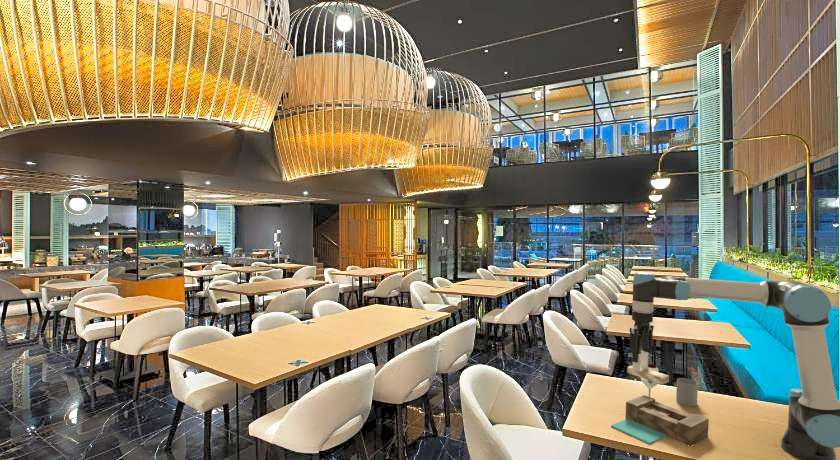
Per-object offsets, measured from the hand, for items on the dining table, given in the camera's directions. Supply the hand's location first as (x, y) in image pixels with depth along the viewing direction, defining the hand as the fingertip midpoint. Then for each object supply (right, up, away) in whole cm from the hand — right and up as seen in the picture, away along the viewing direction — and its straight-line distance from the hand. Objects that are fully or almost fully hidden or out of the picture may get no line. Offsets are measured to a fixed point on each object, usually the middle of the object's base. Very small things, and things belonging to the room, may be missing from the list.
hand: (640, 368), depth 172 cm
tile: (+2, -3, -2) cm, 4 cm away
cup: (+37, -26, +30) cm, 55 cm away
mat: (-1, -26, +1) cm, 26 cm away
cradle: (+13, -26, +4) cm, 29 cm away
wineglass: (+18, -26, +27) cm, 41 cm away
